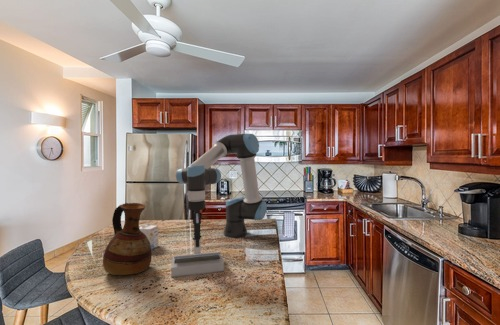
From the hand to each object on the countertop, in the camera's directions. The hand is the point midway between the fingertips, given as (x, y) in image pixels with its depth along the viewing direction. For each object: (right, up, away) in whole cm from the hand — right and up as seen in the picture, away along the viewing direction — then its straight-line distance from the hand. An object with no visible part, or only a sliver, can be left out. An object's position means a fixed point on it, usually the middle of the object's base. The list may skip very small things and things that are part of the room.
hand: (197, 253), depth 119 cm
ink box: (-34, -8, +32) cm, 47 cm away
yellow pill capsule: (0, -6, +2) cm, 6 cm away
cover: (0, -2, +2) cm, 3 cm away
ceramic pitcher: (-31, -8, 0) cm, 32 cm away
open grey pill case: (0, -7, +2) cm, 8 cm away
